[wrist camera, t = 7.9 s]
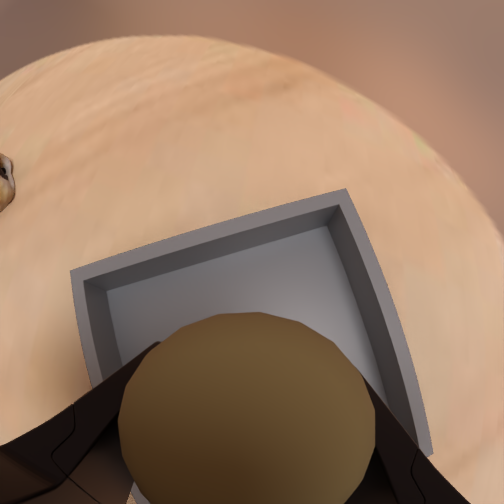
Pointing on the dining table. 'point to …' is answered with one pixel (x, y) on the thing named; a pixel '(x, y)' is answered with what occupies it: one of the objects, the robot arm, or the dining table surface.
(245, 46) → the dining table surface
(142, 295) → the grey bin
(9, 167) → the pastry
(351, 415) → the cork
